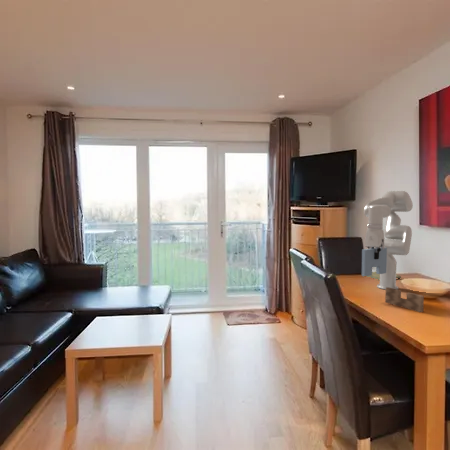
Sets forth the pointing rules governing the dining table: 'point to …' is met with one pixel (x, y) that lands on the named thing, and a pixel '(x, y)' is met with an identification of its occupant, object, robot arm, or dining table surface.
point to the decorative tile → (377, 276)
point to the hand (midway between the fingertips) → (374, 258)
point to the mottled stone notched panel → (411, 302)
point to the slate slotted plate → (373, 261)
